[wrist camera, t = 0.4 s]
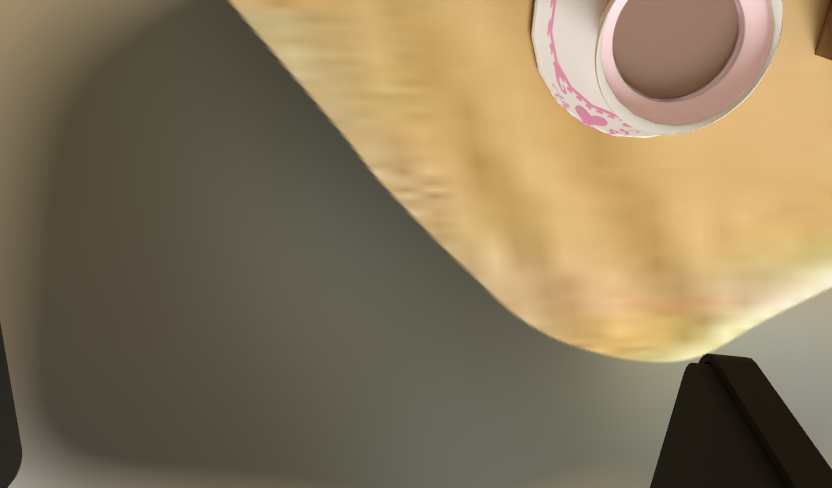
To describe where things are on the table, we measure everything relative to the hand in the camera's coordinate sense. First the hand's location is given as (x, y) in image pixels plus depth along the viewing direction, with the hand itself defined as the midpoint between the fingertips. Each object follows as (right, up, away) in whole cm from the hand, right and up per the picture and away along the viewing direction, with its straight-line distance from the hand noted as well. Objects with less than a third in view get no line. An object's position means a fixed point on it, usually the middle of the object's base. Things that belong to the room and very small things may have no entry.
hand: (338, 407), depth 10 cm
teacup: (+13, +14, +27) cm, 33 cm away
